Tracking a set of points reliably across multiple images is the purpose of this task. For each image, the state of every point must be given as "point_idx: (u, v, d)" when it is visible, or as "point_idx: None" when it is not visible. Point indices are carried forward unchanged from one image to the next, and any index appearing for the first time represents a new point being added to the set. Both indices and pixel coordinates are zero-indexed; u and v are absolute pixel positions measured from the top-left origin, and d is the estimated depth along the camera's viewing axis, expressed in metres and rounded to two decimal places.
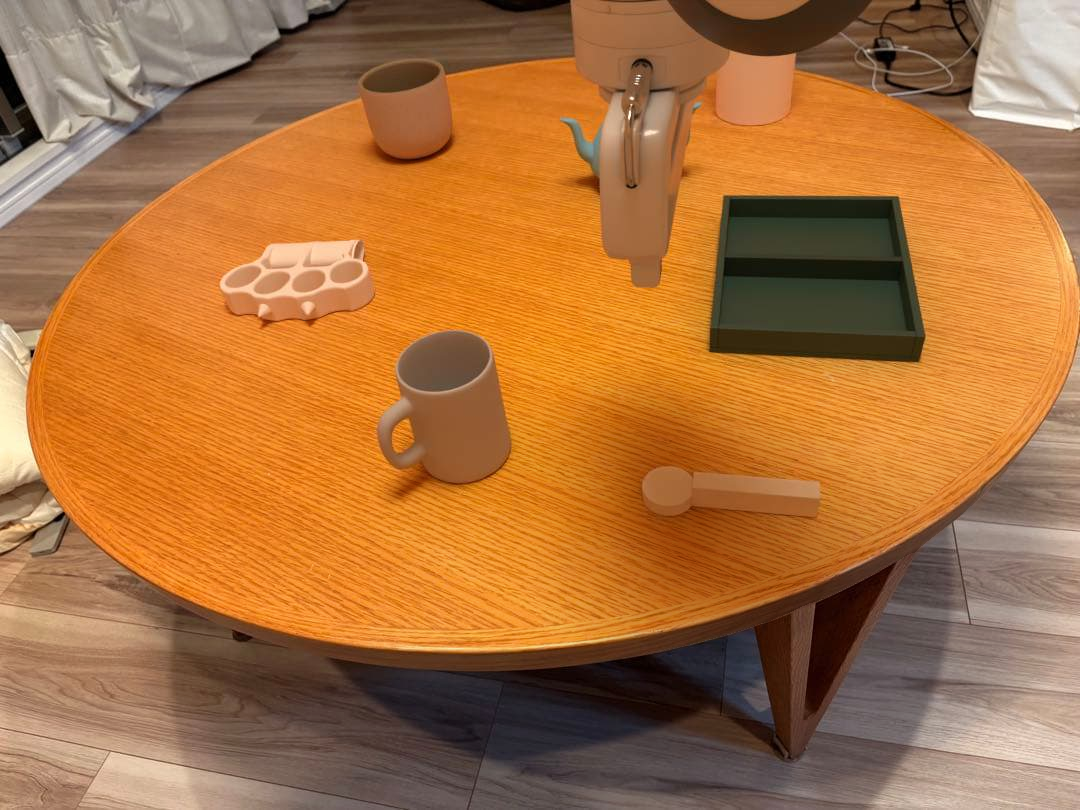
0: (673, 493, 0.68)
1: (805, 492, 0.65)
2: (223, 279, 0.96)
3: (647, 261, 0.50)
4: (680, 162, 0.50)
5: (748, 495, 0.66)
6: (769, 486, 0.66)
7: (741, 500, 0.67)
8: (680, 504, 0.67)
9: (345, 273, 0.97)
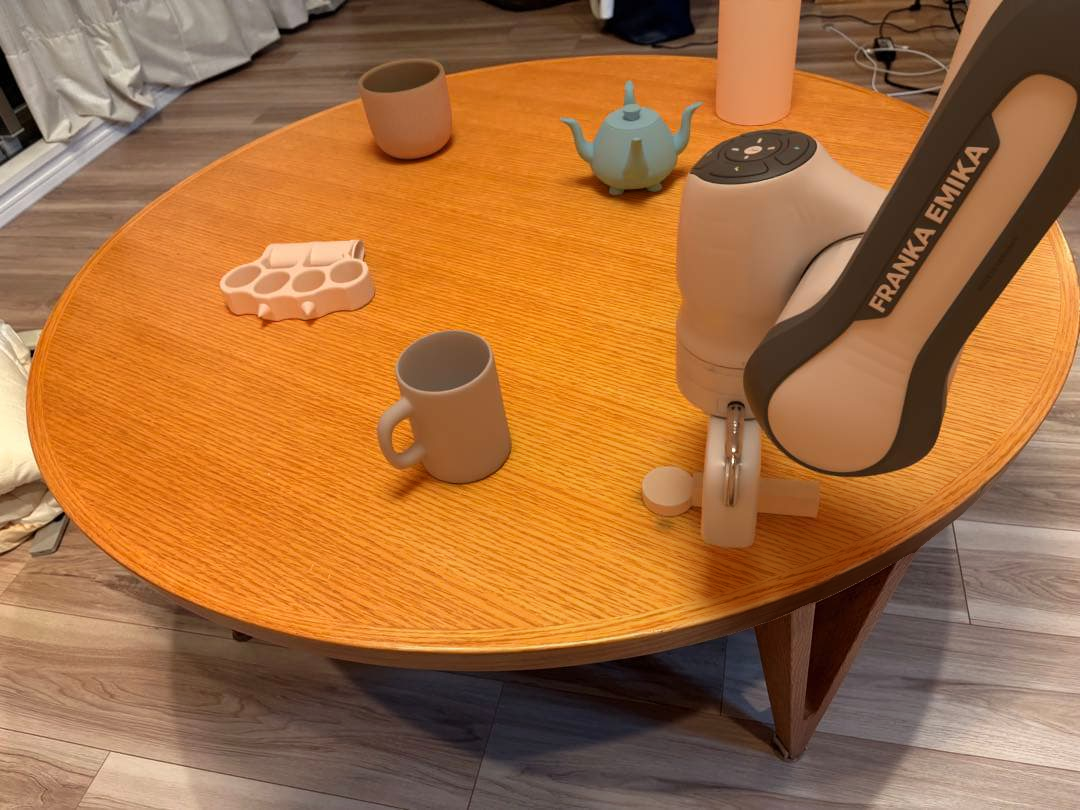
0: (672, 494, 0.68)
1: (805, 492, 0.65)
2: (223, 279, 0.96)
3: None
4: None
5: None
6: (769, 486, 0.66)
7: None
8: (680, 504, 0.67)
9: (345, 273, 0.97)
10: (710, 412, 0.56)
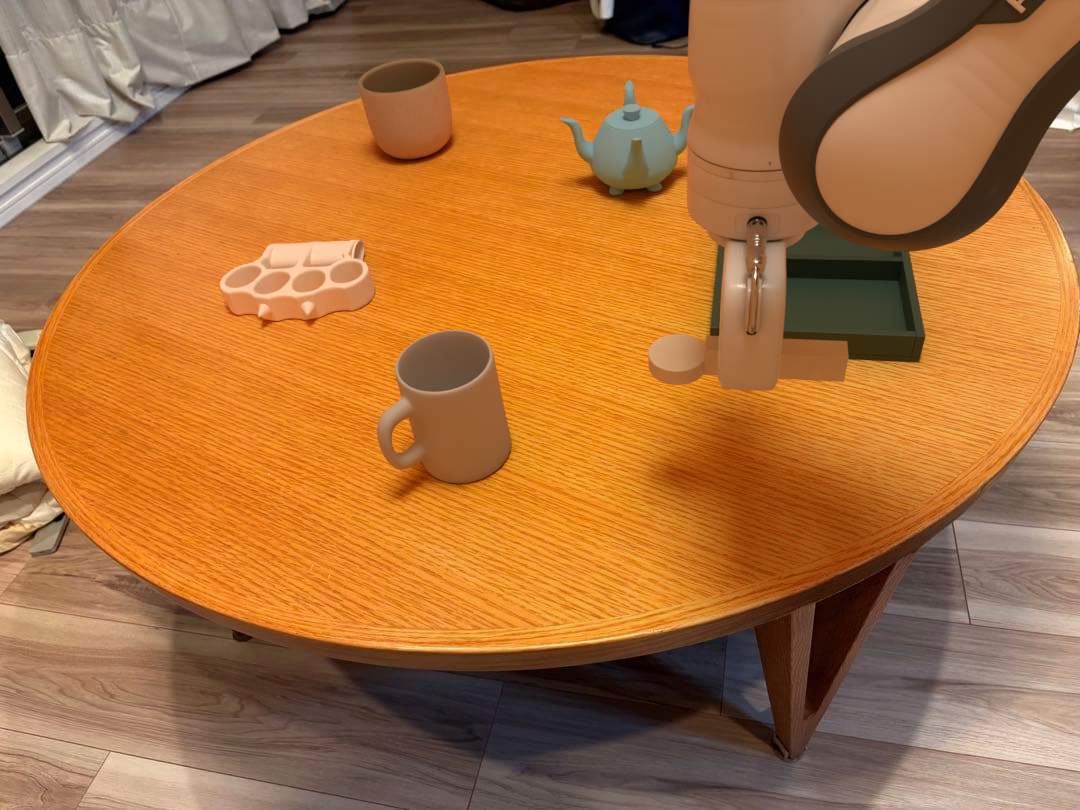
0: (682, 359, 0.61)
1: (831, 351, 0.58)
2: (223, 279, 0.96)
3: None
4: None
5: None
6: (790, 347, 0.59)
7: None
8: (691, 369, 0.60)
9: (345, 273, 0.97)
10: (727, 235, 0.49)
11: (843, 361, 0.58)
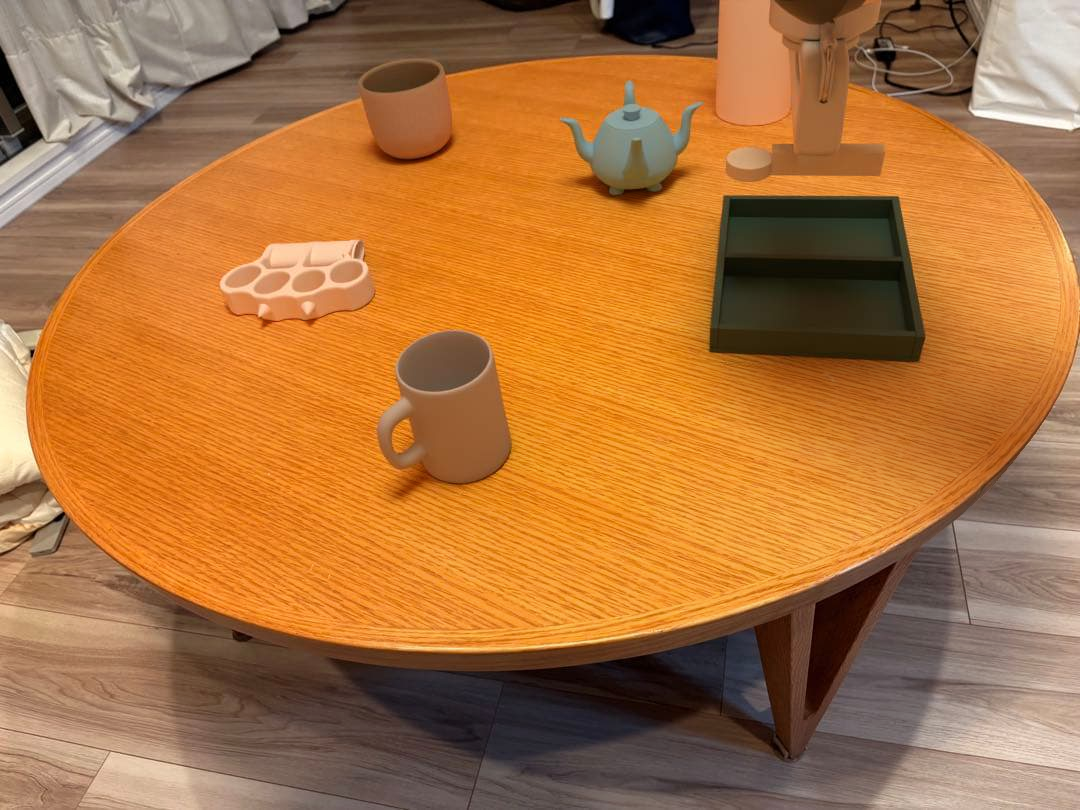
0: (754, 162, 0.78)
1: (871, 149, 0.76)
2: (223, 279, 0.96)
3: None
4: None
5: None
6: (839, 148, 0.76)
7: None
8: (762, 167, 0.77)
9: (345, 273, 0.97)
10: (803, 36, 0.67)
11: (881, 156, 0.75)
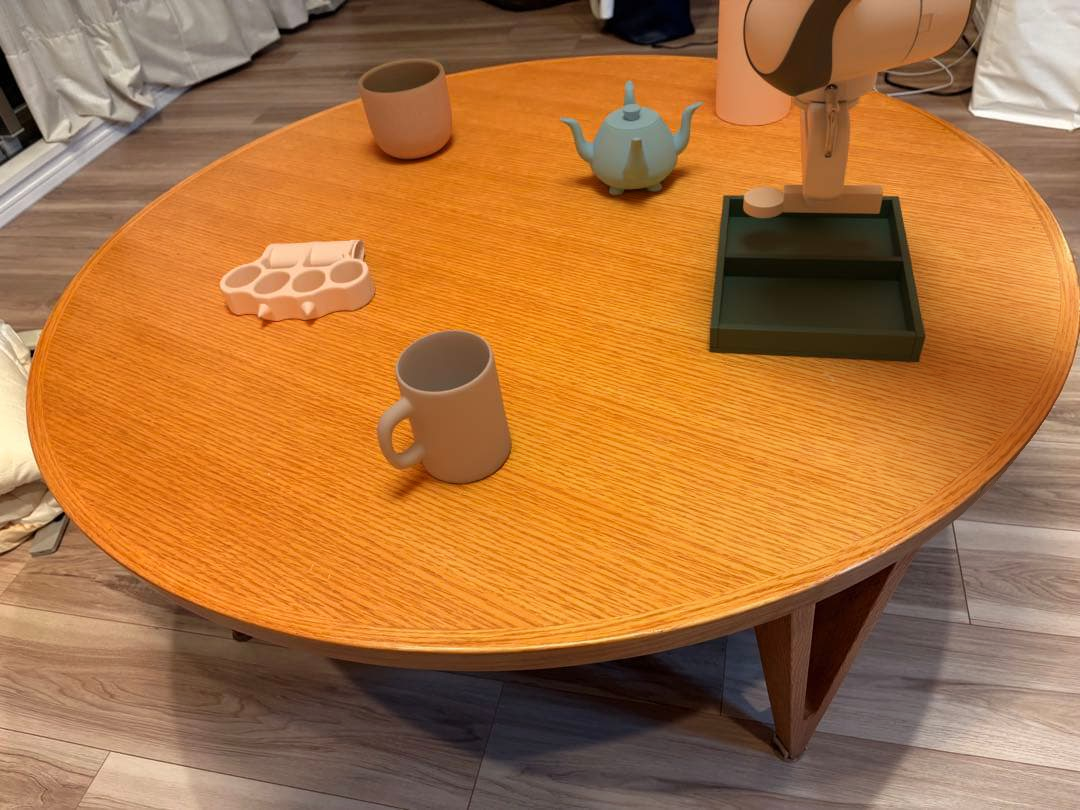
0: (768, 201, 0.89)
1: (871, 191, 0.87)
2: (223, 279, 0.96)
3: None
4: None
5: None
6: (843, 189, 0.87)
7: None
8: (775, 206, 0.89)
9: (345, 273, 0.97)
10: (811, 99, 0.78)
11: (879, 197, 0.86)
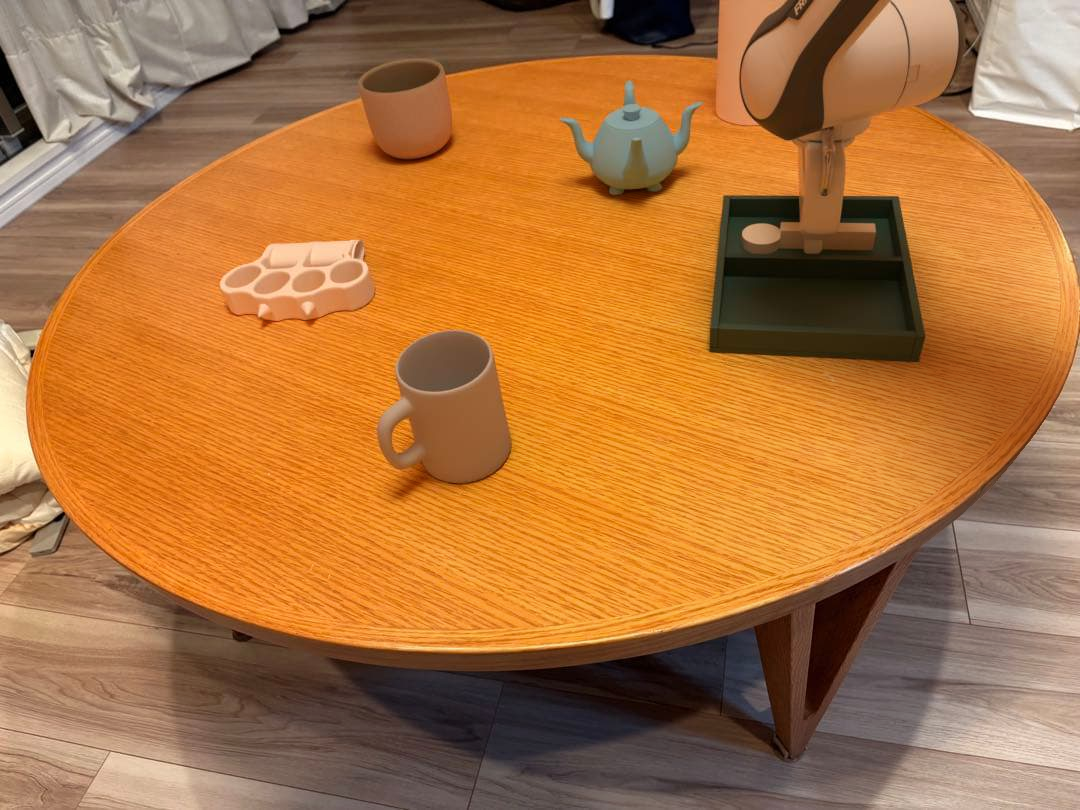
0: (765, 237, 0.92)
1: (864, 229, 0.90)
2: (223, 279, 0.96)
3: (816, 237, 0.86)
4: None
5: None
6: None
7: None
8: (772, 243, 0.92)
9: (345, 273, 0.97)
10: (808, 138, 0.80)
11: (872, 235, 0.89)
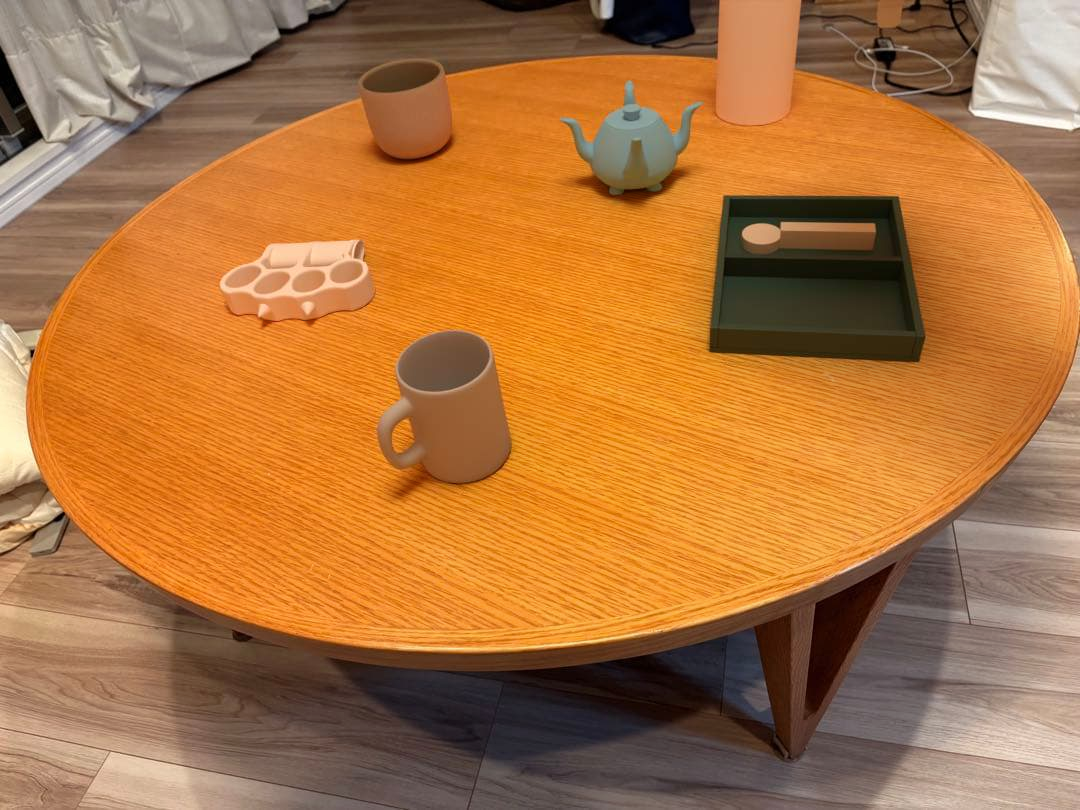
0: (765, 237, 0.92)
1: (864, 229, 0.90)
2: (223, 279, 0.96)
3: (895, 1, 0.67)
4: None
5: (822, 233, 0.91)
6: (837, 227, 0.91)
7: (817, 239, 0.91)
8: (772, 243, 0.92)
9: (345, 273, 0.97)
10: None
11: (872, 235, 0.89)
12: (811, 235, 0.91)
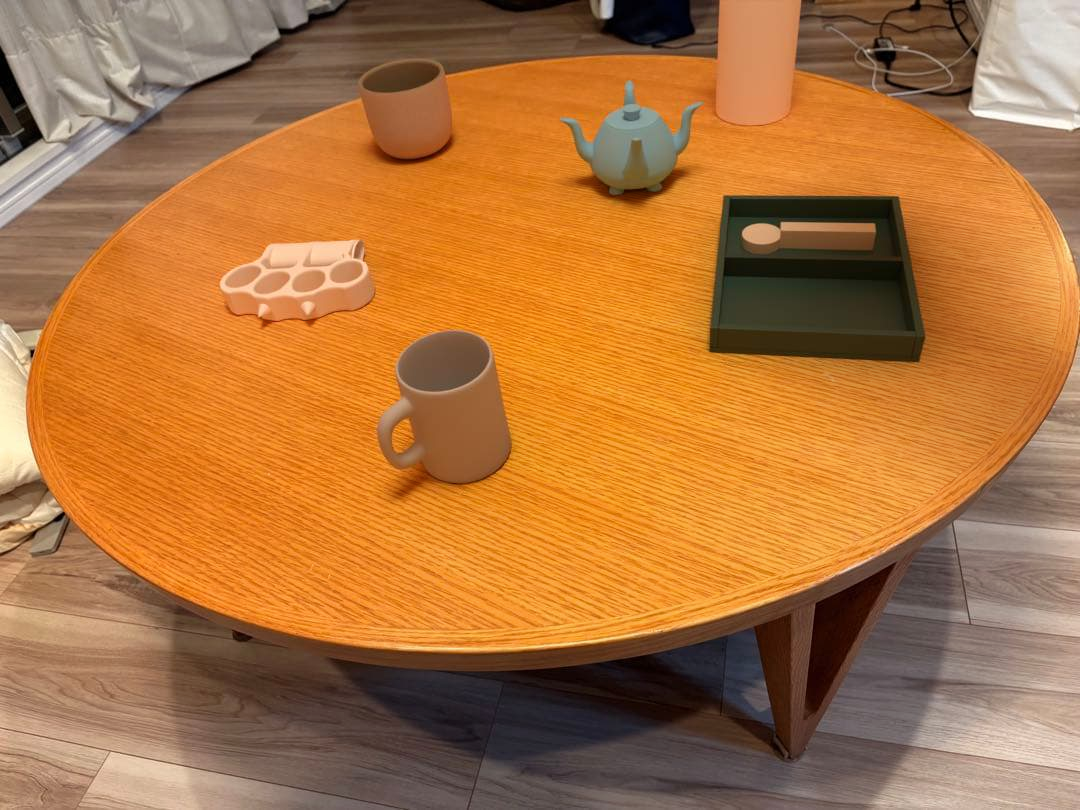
0: (765, 237, 0.92)
1: (864, 229, 0.90)
2: (223, 279, 0.96)
3: None
4: None
5: (822, 233, 0.91)
6: (837, 227, 0.91)
7: (817, 239, 0.91)
8: (772, 243, 0.92)
9: (345, 273, 0.97)
10: None
11: (872, 235, 0.89)
12: (811, 235, 0.91)
